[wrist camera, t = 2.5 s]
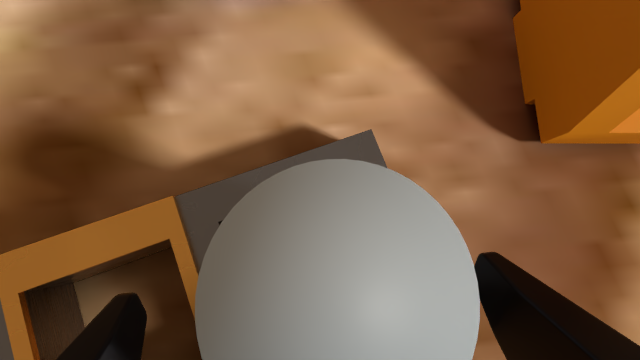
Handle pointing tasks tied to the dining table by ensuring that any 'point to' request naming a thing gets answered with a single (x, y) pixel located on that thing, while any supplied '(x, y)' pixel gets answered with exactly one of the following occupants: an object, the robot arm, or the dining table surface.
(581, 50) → the bracket
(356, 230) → the peg
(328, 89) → the dining table surface
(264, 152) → the dining table surface
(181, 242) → the grey boxy holed piece
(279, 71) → the dining table surface
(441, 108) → the dining table surface
